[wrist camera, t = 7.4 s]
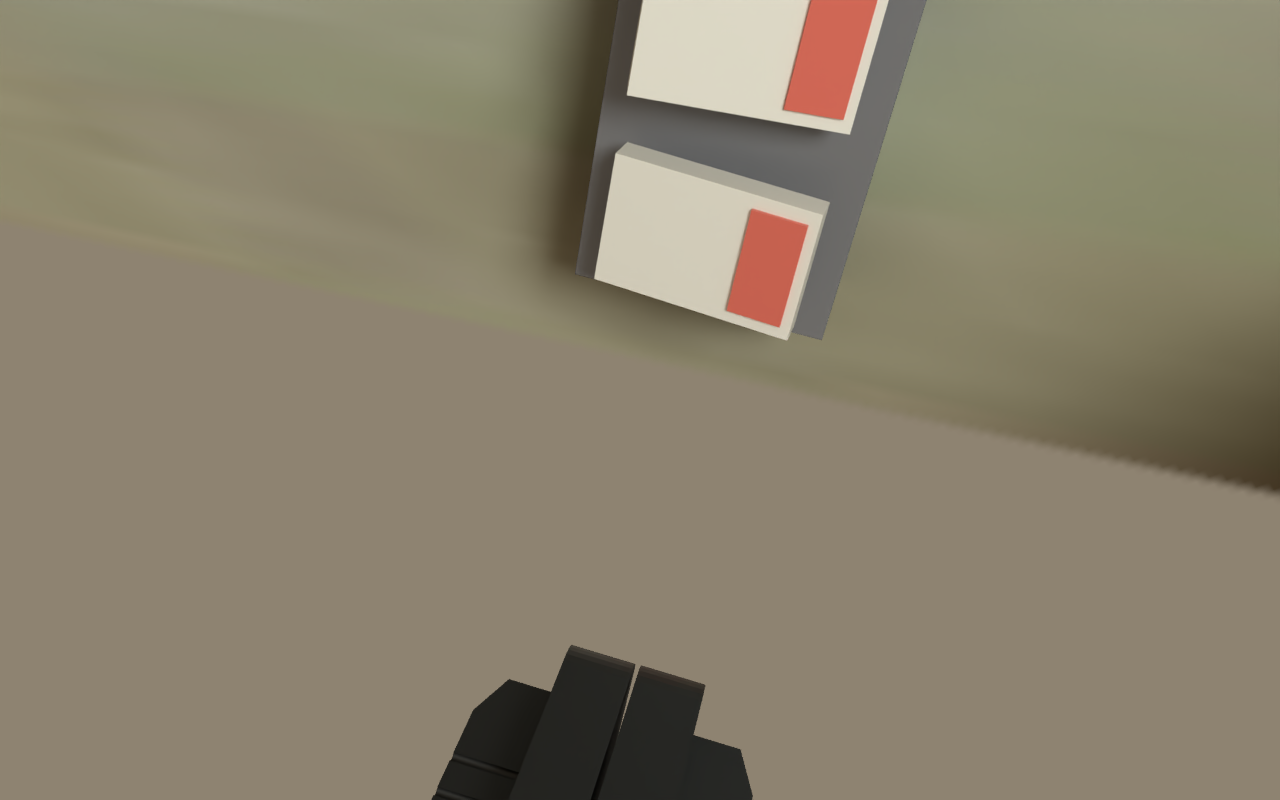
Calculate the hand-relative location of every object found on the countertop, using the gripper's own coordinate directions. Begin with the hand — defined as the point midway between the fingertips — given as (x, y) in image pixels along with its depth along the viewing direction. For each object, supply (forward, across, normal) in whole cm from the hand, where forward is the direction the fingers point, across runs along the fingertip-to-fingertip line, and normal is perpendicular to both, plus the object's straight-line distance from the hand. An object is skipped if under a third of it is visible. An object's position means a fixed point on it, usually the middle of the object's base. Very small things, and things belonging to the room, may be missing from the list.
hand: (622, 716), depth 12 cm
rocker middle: (+21, +2, -2) cm, 22 cm away
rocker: (+21, +2, +4) cm, 22 cm away
